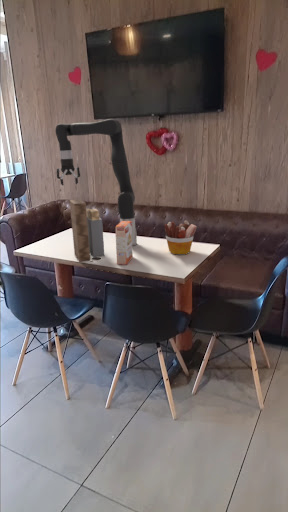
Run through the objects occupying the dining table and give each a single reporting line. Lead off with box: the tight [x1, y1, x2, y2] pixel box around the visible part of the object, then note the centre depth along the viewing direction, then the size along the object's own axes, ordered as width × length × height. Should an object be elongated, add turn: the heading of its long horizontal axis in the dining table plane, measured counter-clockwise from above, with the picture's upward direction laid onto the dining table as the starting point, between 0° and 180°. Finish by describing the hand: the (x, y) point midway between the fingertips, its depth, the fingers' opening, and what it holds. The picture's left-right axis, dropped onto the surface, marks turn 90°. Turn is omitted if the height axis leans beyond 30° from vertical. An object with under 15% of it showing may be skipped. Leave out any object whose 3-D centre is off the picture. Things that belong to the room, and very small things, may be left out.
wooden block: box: [69, 198, 91, 263], centre depth 201 cm, size 6×14×32 cm, turn 21°
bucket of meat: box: [163, 220, 198, 255], centre depth 207 cm, size 20×16×20 cm
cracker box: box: [115, 221, 134, 266], centre depth 196 cm, size 14×6×21 cm, turn 168°
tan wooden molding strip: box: [86, 208, 100, 221], centre depth 209 cm, size 4×24×5 cm, turn 21°
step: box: [87, 216, 105, 259], centre depth 209 cm, size 6×12×22 cm, turn 21°
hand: (69, 184), depth 228 cm, fingers open, 8 cm apart
